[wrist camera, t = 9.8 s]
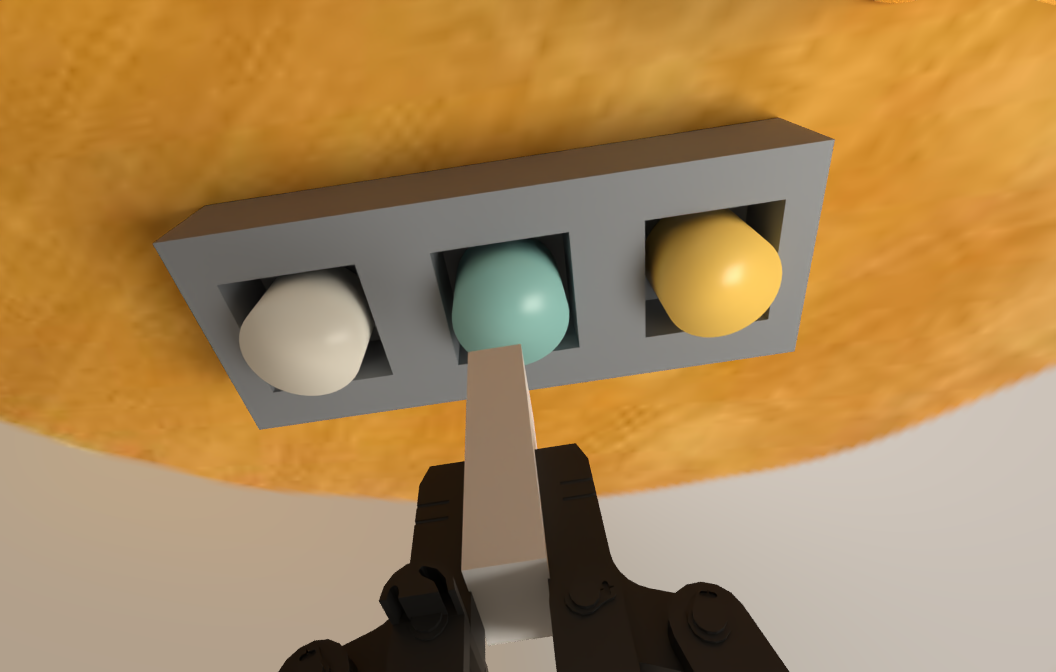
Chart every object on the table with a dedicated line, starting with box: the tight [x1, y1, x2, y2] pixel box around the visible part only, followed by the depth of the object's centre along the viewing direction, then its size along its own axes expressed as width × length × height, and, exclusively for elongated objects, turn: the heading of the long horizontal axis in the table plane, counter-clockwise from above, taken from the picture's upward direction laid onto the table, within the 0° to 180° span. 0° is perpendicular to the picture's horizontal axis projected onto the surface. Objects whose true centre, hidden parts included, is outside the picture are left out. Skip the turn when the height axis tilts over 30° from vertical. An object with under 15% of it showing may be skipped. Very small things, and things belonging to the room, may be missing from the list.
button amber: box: [645, 208, 782, 337], centre depth 21 cm, size 4×4×3 cm
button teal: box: [452, 237, 569, 365], centre depth 21 cm, size 4×4×3 cm
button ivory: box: [239, 266, 375, 396], centre depth 21 cm, size 4×4×3 cm
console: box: [153, 118, 835, 430], centre depth 22 cm, size 24×9×4 cm, turn 98°
